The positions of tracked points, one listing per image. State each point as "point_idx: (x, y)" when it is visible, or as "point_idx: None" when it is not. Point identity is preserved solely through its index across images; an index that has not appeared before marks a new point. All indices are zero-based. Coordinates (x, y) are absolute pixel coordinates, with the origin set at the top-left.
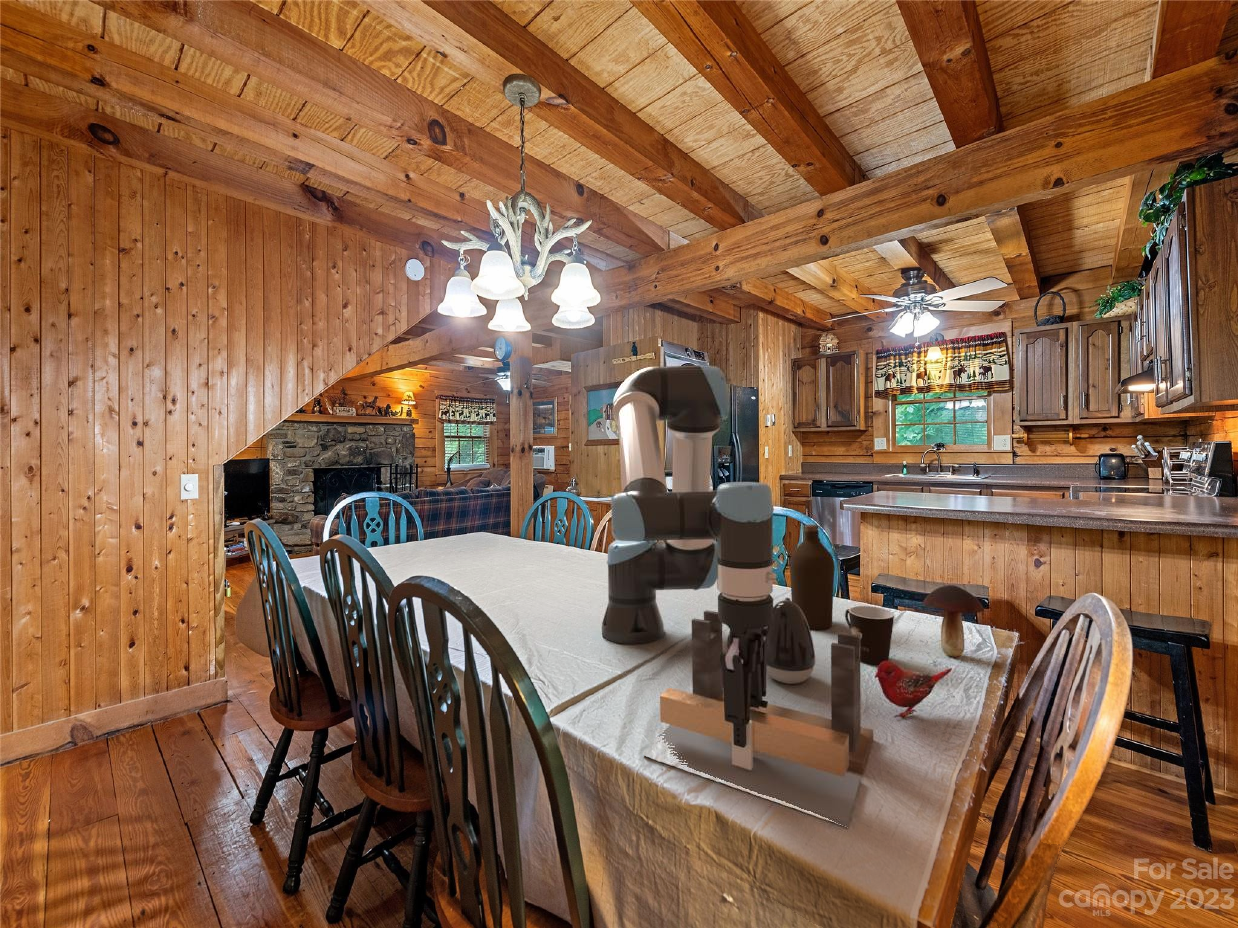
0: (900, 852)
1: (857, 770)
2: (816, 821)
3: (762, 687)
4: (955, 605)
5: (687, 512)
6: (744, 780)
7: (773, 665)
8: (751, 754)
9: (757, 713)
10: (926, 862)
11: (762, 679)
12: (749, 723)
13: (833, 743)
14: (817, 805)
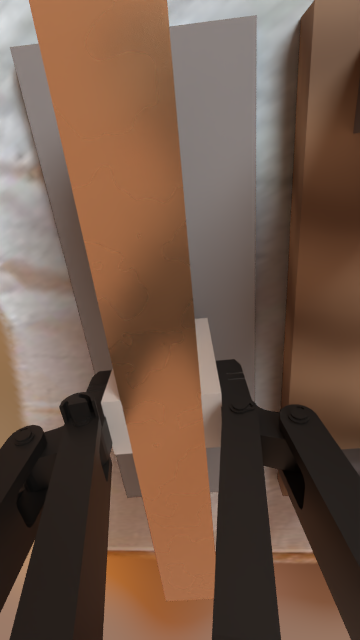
0: (129, 530)
1: (278, 474)
2: (112, 458)
3: (287, 491)
4: None
5: None
6: (108, 356)
7: None
8: None
9: (188, 447)
10: (132, 546)
11: (303, 524)
12: (113, 450)
13: (163, 587)
14: (133, 463)
